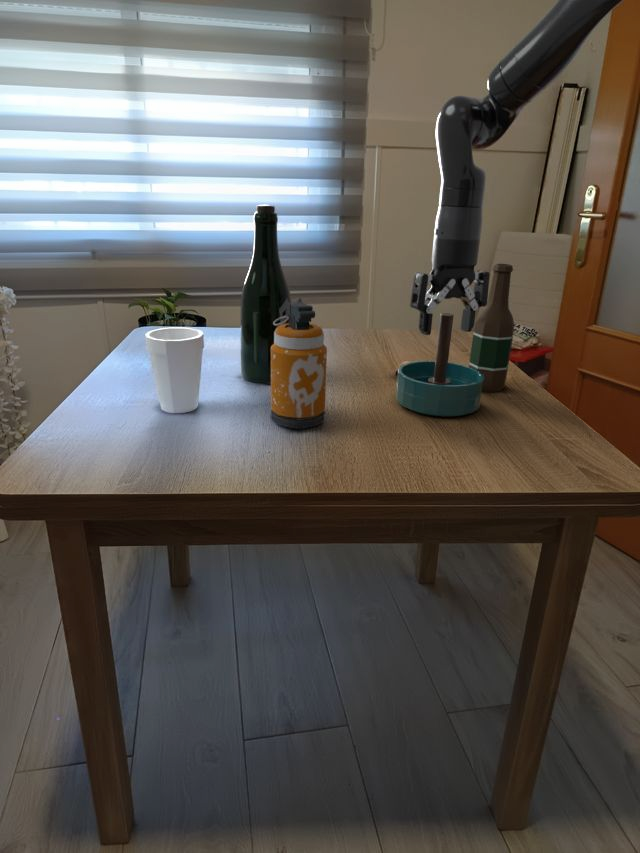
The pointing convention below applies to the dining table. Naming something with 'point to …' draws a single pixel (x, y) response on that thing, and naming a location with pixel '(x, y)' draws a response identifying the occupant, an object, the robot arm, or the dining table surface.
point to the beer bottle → (494, 333)
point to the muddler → (442, 350)
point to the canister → (298, 368)
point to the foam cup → (176, 366)
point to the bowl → (439, 389)
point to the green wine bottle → (262, 298)
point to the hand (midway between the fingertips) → (446, 332)
